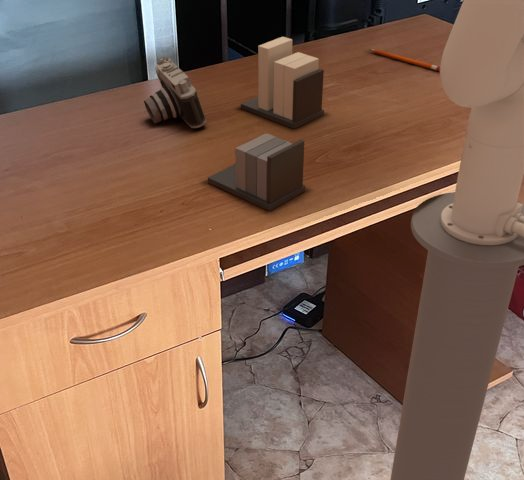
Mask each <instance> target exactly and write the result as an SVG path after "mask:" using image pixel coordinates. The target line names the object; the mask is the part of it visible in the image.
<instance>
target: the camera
mask: <svg viewBox="0 0 524 480" xmlns="http://www.w3.org/2000/svg"><path fill="white" fill-rule="evenodd" d="M156 62H157V64H156V65H155V66H154V70H155V73H156V76H157V78H158V80H159V83H160V85H161V86H160V89H159V90H157V91H156V92H154V94H151V95H149V97H148V98H146V99H144V100H143V104H144V106H145V109H146V112H147V113H148V116H149V117H150V119H151V121H152V122H153V123H154V124H155V125H156V124H158V123H160V122H164V121H166V120H171V119H173V118H174V119H178V118H181V119H183V121H184V122H185V123H186V124H187V125H188V126H189V127H190V128H191V129H198V128H201V127H203V126H204V125H205V124H206V123H207V118H206V116H205V113H204V111H203V108H202V105H201V102H200V99H199V96H198V92H197V89H196V88H195V86H193V85H192V83H191V80H190V78H189V76H188V75H187V74H186V73H185V72H184V71H183V70H182V69H181V68H179V66H177V64H176V63H174V61H172V59H171V58H168V57H166V56H163V57H159V58H158V59H157V60H156Z"/></svg>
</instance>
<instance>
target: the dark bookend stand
mask: <svg viewBox="0 0 524 480" xmlns="http://www.w3.org/2000/svg"><path fill="white" fill-rule="evenodd" d="M319 61H320V58H318V57H315V56H312V55H308V54H305V53H302V52H300V51H298V52H295V53H292V55H290V56H287V57H285V58H282V59H280V60H277V61H275V62H274V100H273V109H271V110H269V111H266V110H264V109H261V108H258V96H256V97H253V98H251V99H249V100H247V101H244V102H242V103H240V109H241V110H243V111H247V112H249V113H251V114H255V115H257V116H259V117H262V118H265V119H267V120H269V121H273V122H275V123H277V124H280V125H282V126H285V127H287V128H289V129H290V128H291V129H293V130H295V129H297V128H299V127H301V126H303V125H305V124H308V123H309V122H311V121H314V120H316V119H318V118H320V117H322V116H324V115H325V109H323V91H324V74H325V73H324V72H325V70H324V69H323V68H319V64H320V63H319Z"/></svg>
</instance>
